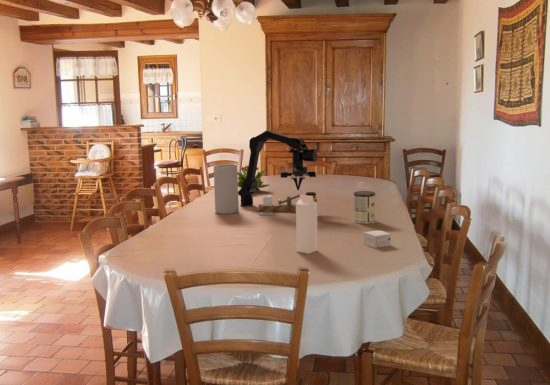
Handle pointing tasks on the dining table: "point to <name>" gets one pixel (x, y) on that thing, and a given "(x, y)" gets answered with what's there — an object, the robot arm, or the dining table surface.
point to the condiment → (313, 196)
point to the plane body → (278, 207)
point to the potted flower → (257, 177)
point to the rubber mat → (266, 213)
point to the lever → (286, 199)
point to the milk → (306, 224)
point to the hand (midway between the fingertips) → (298, 190)
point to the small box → (377, 238)
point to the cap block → (267, 200)
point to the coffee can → (364, 207)
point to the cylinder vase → (226, 189)
